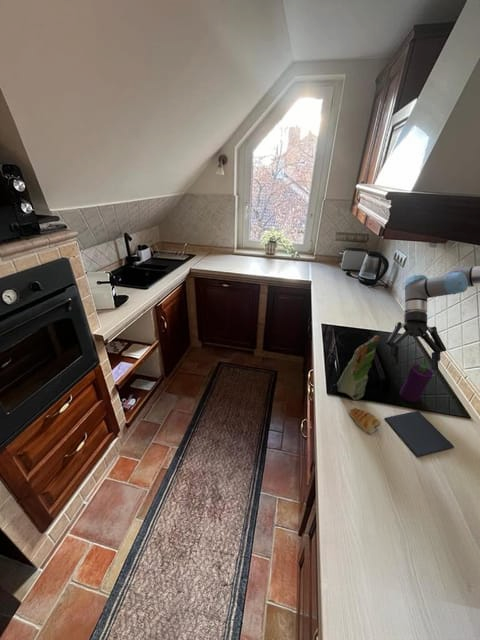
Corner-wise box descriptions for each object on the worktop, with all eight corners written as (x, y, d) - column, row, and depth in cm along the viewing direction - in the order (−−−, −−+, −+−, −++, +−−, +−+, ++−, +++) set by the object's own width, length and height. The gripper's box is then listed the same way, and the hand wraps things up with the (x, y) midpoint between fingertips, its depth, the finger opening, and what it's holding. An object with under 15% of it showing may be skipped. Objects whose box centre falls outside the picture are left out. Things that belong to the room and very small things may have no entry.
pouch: (361, 382, 103) (380, 331, 91) (369, 405, 93) (391, 351, 81) (333, 378, 105) (347, 327, 92) (338, 401, 95) (355, 347, 82)
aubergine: (409, 388, 101) (424, 359, 93) (422, 401, 96) (439, 371, 88) (395, 391, 100) (409, 361, 92) (408, 403, 94) (424, 373, 87)
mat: (417, 412, 91) (418, 410, 91) (453, 447, 80) (454, 446, 79) (384, 419, 88) (384, 417, 88) (416, 457, 77) (417, 455, 76)
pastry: (345, 416, 89) (347, 409, 87) (355, 408, 92) (358, 400, 90) (370, 436, 82) (373, 429, 80) (381, 426, 86) (384, 418, 84)
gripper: (444, 319, 102) (445, 372, 97) (378, 312, 107) (376, 362, 102) (457, 314, 95) (458, 371, 90) (385, 306, 100) (383, 360, 95)
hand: (414, 366), depth 96 cm, fingers open, 13 cm apart
